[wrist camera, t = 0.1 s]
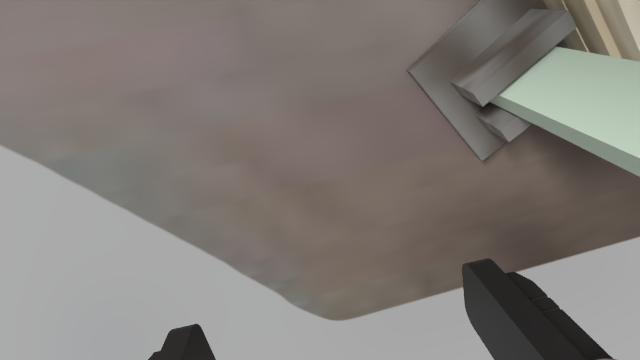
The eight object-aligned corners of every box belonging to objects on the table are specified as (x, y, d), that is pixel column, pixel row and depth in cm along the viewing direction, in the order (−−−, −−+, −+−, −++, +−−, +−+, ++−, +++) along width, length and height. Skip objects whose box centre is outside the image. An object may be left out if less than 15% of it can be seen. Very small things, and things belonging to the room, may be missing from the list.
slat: (487, 100, 31) (709, 211, 15) (475, 84, 30) (697, 184, 14) (536, 58, 29) (837, 132, 14) (525, 40, 29) (832, 96, 13)
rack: (477, 157, 34) (518, 190, 28) (406, 70, 30) (438, 89, 24) (650, 18, 30) (743, 23, 24) (599, -113, 25) (701, -147, 19)
